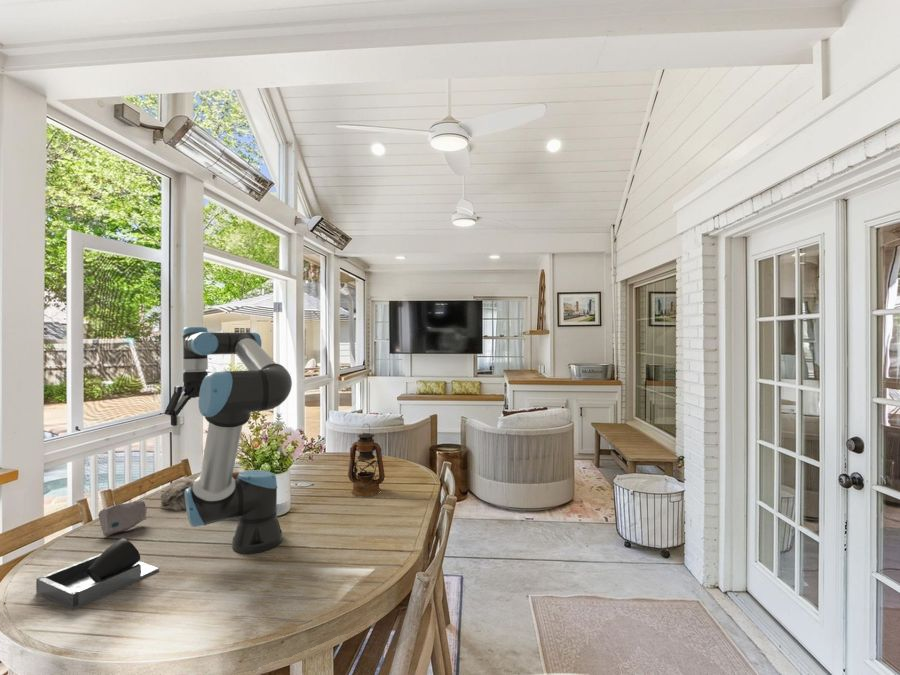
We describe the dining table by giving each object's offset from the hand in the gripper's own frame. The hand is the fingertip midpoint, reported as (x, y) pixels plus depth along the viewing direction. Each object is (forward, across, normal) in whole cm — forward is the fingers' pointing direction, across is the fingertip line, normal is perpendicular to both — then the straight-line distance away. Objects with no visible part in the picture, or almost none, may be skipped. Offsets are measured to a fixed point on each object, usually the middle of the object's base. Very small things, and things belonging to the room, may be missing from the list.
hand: (195, 431), depth 157 cm
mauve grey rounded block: (+35, +11, -22) cm, 43 cm away
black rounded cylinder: (+32, +37, +11) cm, 50 cm away
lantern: (+35, -58, +31) cm, 74 cm away
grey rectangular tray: (+35, +34, +8) cm, 49 cm away
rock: (+35, -13, -27) cm, 46 cm away
